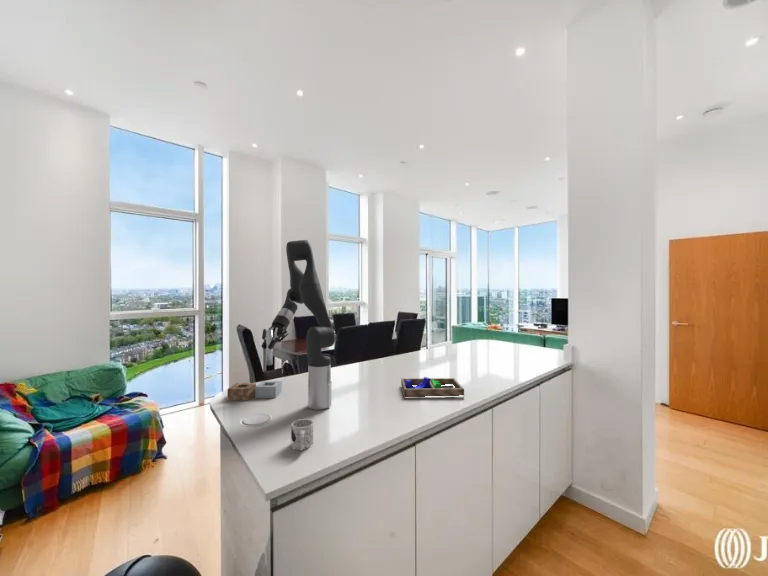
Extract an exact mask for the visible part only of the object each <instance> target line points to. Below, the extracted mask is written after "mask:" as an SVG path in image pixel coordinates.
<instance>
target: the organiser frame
mask: <svg viewBox="0 0 768 576" xmlns="http://www.w3.org/2000/svg"><path fill="white" fill-rule="evenodd" d="M429 378H430V389H406V385H405V380H410V381H412V385H419V383H422V382H423V379H424V377H422V378H417V377H416V378H413V377H412V378H400V379H401V381H400V382H401V383H400V385H401V386H402V387H401V390H403V391H402V393H404V395H403V398H404V397H425V396H459V395H464V396H465V389H464V387H463V386H462V385H461V384H460V383H459V382H458V380H456V378H454V377H451V378H450V377H449V378H443V377H442V378H441V377H440V378H439V377H437V378H435V377H434V378H431V377H429ZM431 379H434V381H440V384H441V385H445V384H453V385H454V386H455V388H453V387H444V388H443V387H441V389H435V388H434V386H433V384H432V383H431Z"/></svg>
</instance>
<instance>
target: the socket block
mask: <svg viewBox="0 0 768 576" xmlns="http://www.w3.org/2000/svg"><path fill="white" fill-rule="evenodd" d="M282 384H283V383H282V381H281V380H280V381H279V380H278V381H277V380H264V381H263V380H262V381H261V382H260V383H258V384H256V388H255V395H254V396H255V397H254V398H255V399H276V398H278V396H279V395H280V394H281V393H282V391H283V389H282Z"/></svg>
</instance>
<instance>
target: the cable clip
mask: <svg viewBox="0 0 768 576" xmlns="http://www.w3.org/2000/svg"><path fill="white" fill-rule="evenodd" d="M423 378H424V379H423V382H422V383H419V385H417V386H416V387H413V386H412V381H410V380H405V385H406V389H430V378H431V377H427V376H424V377H423Z"/></svg>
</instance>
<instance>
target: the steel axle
mask: <svg viewBox="0 0 768 576" xmlns="http://www.w3.org/2000/svg"><path fill="white" fill-rule="evenodd" d="M272 339H273V330H267V329H266V348H265V366H273V358H274V357H273V352H274V351H273V349H274V347H273V348H272V349H269V348H268V346H269V344H270V342H271V341H273V340H272Z"/></svg>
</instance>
